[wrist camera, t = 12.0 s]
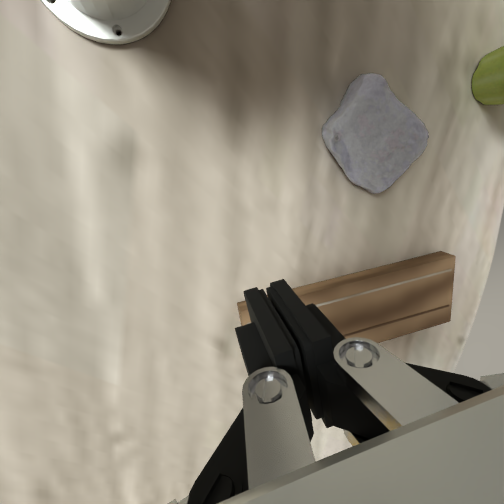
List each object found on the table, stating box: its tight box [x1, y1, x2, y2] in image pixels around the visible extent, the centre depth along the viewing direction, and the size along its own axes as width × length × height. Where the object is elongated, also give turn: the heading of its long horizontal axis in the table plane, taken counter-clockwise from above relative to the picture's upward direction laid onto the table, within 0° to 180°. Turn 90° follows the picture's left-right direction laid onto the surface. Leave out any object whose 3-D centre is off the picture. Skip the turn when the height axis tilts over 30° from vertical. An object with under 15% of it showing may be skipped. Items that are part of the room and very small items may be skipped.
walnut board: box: [237, 251, 455, 343], centre depth 42 cm, size 11×32×3 cm, turn 99°
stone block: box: [322, 73, 429, 193], centre depth 35 cm, size 12×5×10 cm
